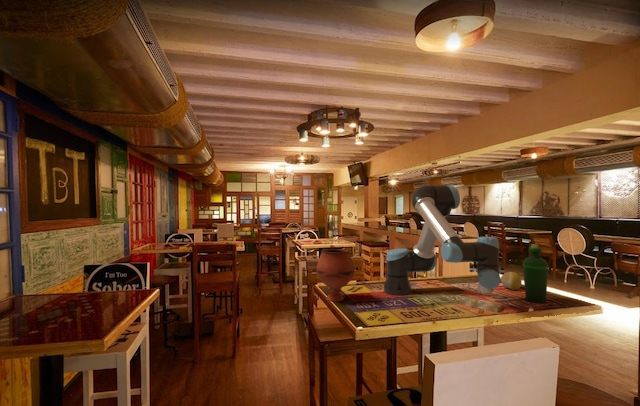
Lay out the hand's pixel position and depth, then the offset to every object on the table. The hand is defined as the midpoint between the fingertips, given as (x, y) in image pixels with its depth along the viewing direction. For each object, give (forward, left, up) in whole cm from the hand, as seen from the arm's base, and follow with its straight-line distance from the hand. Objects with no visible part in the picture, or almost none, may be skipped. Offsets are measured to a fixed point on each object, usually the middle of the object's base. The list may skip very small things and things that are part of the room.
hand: (484, 264), depth 152 cm
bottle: (+16, +24, -19) cm, 34 cm away
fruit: (+1, +40, -19) cm, 44 cm away
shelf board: (0, -5, -19) cm, 20 cm away
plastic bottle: (+2, -5, -13) cm, 14 cm away
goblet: (-57, -46, -19) cm, 75 cm away
